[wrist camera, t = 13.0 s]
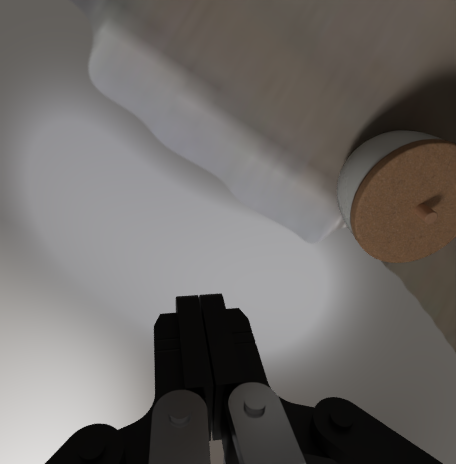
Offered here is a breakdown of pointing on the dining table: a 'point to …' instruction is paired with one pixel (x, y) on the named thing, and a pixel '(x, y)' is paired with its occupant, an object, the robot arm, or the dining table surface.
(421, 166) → the lidded bowl
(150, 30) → the dining table surface
